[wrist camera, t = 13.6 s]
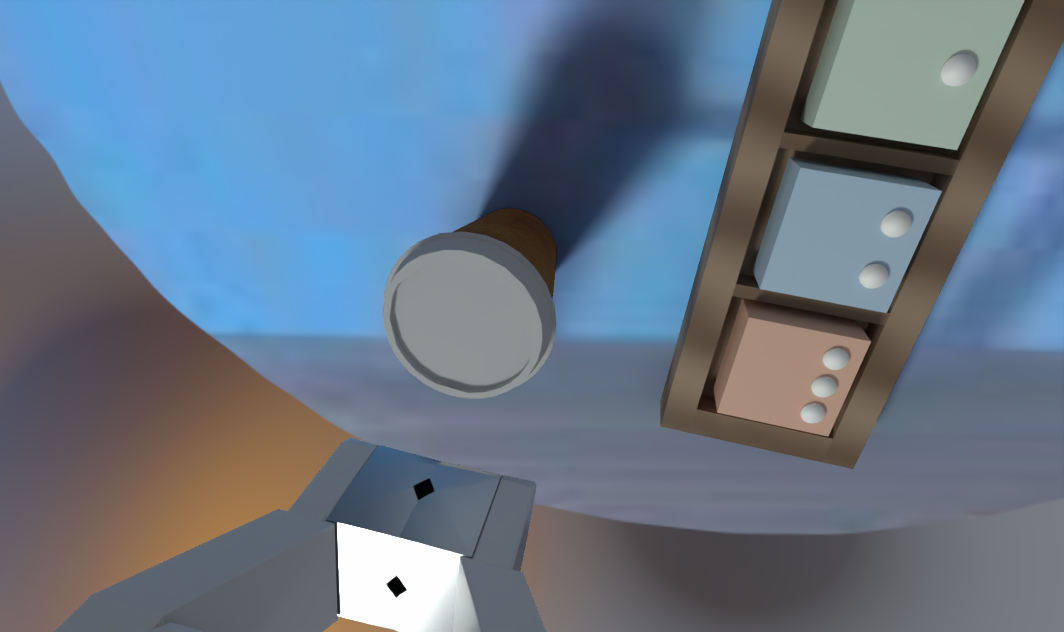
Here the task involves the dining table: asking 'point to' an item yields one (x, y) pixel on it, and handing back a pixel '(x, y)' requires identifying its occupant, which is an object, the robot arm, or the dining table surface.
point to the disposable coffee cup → (475, 305)
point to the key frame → (778, 133)
